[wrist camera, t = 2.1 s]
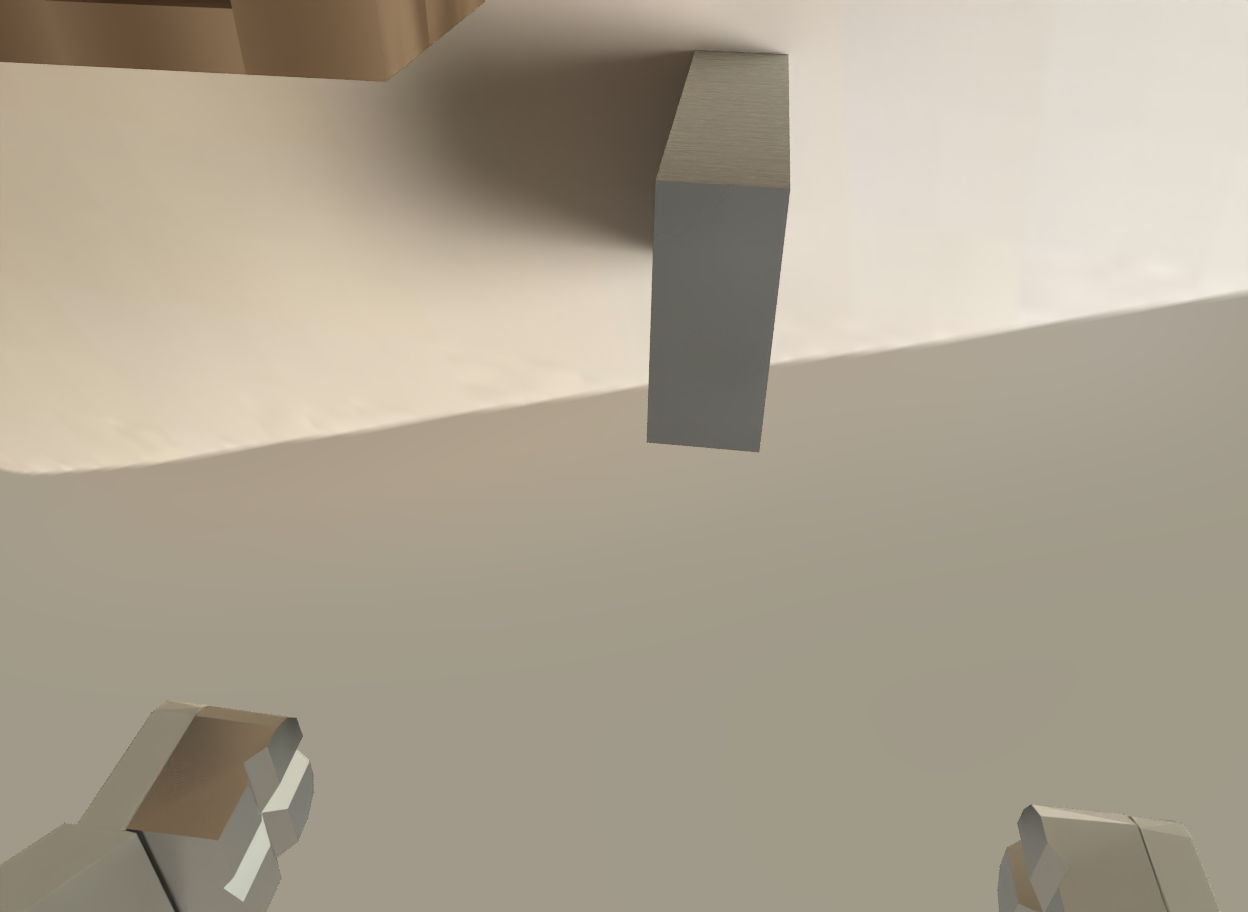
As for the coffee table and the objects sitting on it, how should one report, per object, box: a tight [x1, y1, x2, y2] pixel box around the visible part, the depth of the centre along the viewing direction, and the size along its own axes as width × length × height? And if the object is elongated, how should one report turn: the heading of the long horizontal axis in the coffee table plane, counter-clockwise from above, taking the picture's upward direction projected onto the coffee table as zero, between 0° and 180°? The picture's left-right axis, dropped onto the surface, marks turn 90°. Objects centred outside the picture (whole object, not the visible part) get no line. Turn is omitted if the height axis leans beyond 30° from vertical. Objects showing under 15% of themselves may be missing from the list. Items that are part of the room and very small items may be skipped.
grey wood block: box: [647, 50, 790, 452], centre depth 24 cm, size 2×6×10 cm, turn 179°
